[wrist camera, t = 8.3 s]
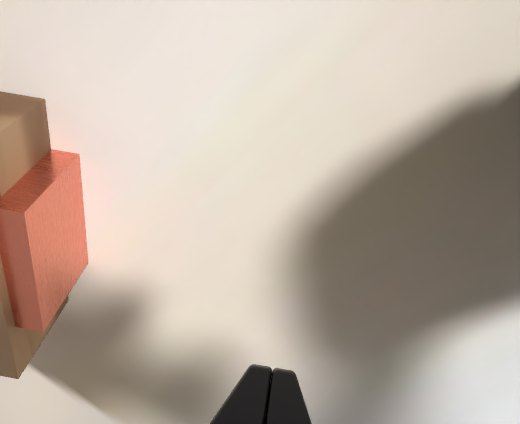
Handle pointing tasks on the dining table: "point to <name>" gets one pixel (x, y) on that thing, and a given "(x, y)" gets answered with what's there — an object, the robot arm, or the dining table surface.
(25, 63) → the dining table surface
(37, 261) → the pin
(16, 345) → the block
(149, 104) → the dining table surface
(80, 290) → the dining table surface
